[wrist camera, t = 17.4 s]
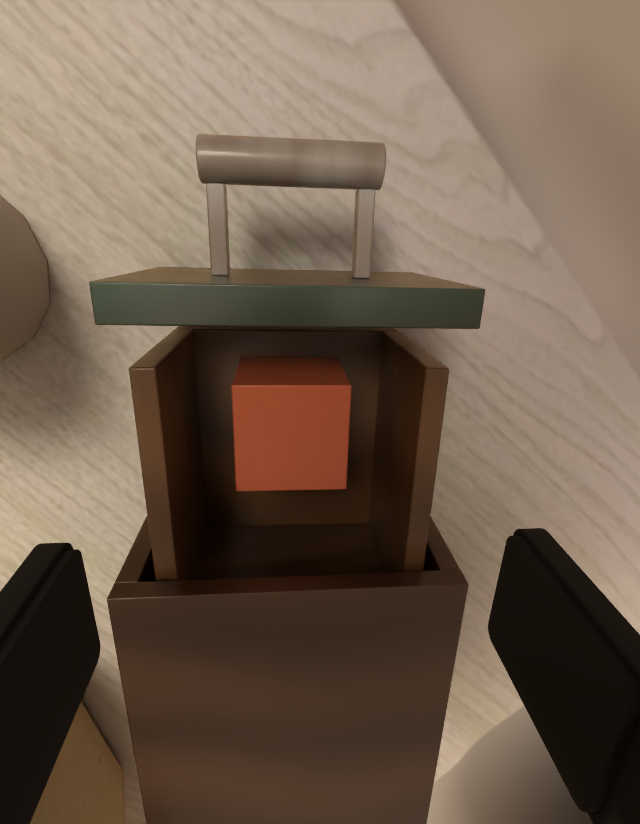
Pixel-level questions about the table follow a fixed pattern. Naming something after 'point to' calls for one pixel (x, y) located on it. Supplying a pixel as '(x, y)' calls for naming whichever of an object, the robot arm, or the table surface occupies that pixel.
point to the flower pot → (83, 780)
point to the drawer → (286, 337)
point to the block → (290, 423)
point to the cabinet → (287, 690)
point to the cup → (20, 281)
